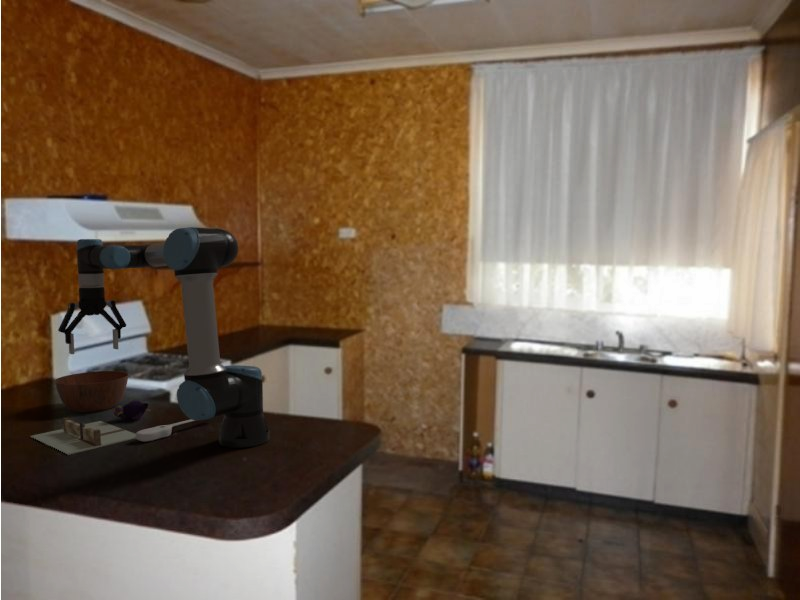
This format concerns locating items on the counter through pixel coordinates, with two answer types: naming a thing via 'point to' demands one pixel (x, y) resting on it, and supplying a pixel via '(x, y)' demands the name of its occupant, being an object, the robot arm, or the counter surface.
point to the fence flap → (71, 427)
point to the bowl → (92, 390)
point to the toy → (131, 410)
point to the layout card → (75, 444)
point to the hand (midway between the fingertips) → (94, 351)
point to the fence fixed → (90, 434)
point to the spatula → (157, 431)
